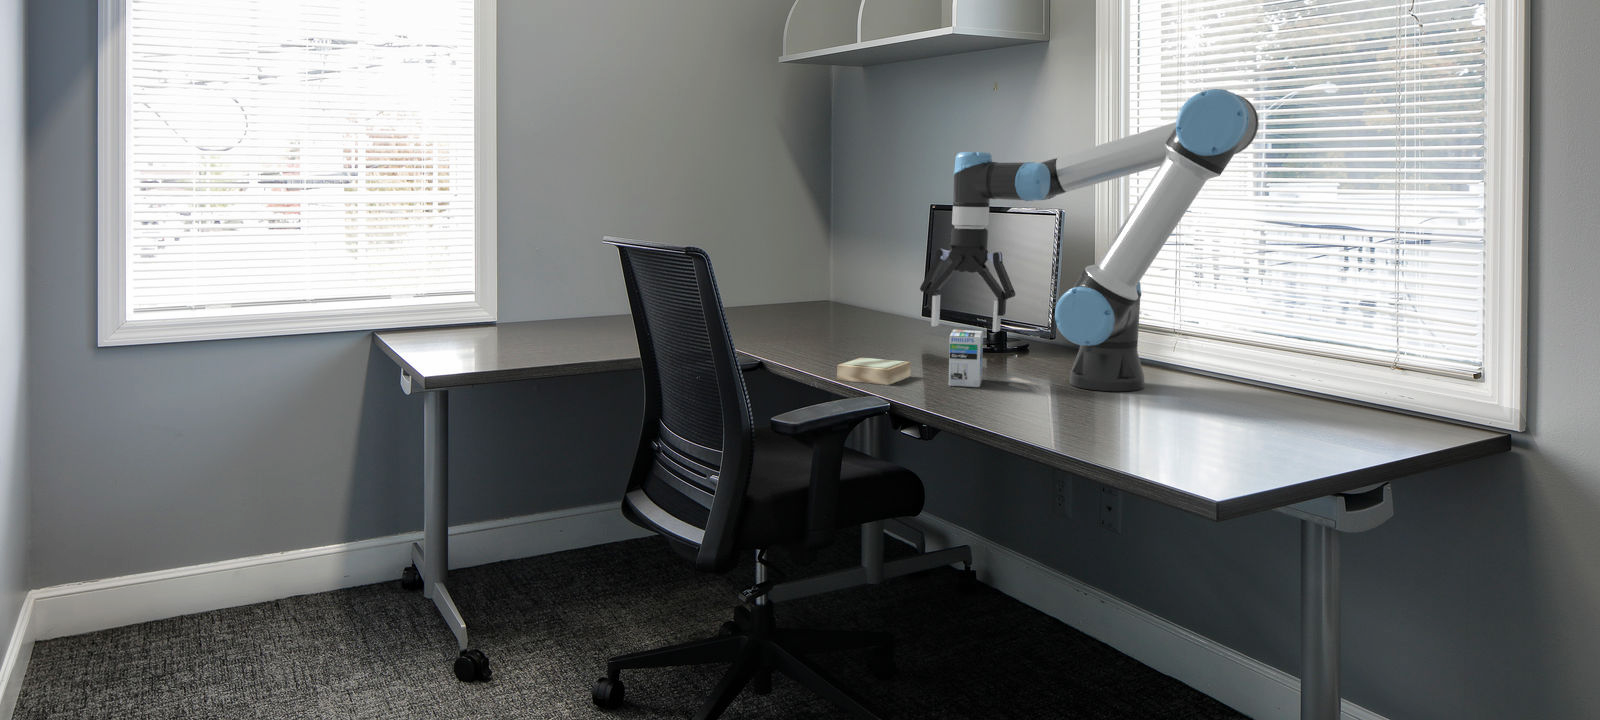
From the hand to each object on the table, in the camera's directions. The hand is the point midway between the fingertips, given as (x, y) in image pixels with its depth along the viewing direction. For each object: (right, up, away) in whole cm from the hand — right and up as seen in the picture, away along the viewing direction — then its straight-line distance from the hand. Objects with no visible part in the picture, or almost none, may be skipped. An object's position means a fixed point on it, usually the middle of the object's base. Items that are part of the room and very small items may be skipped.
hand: (965, 328), depth 236 cm
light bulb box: (0, -12, +2) cm, 12 cm away
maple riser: (-19, -11, +6) cm, 22 cm away
